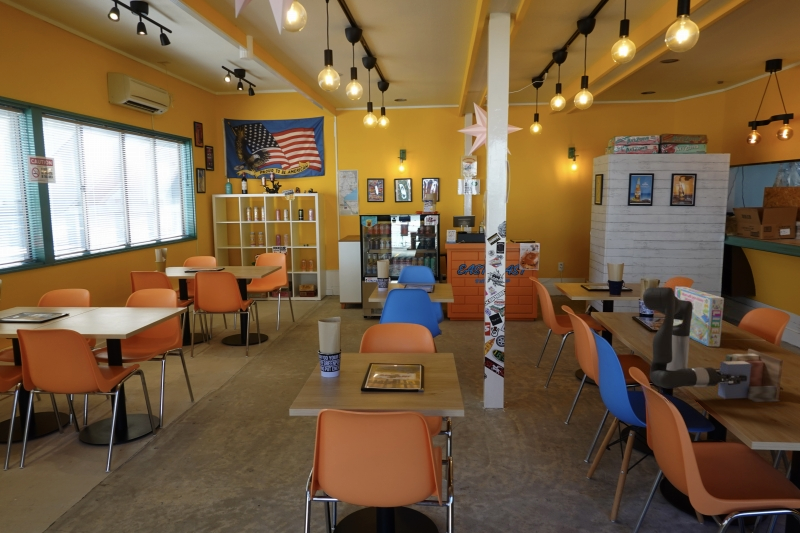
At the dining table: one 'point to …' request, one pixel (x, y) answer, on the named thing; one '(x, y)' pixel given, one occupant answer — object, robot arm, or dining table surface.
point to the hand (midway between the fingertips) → (740, 375)
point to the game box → (703, 315)
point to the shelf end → (761, 375)
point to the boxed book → (734, 369)
